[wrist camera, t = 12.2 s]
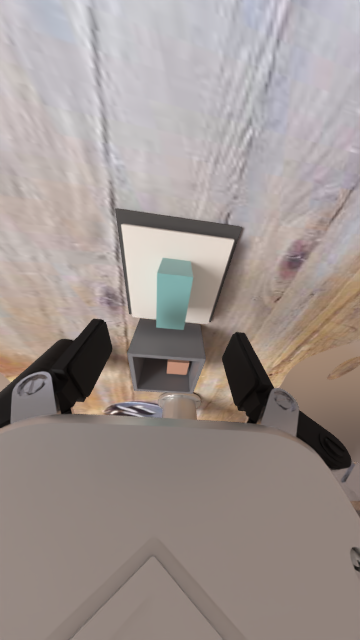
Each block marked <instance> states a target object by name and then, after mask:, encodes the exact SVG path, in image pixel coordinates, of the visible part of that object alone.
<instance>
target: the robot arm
mask: <svg viewBox="0 0 360 640" xmlns="http://www.w3.org/2000/svg"><path fill="white" fill-rule="evenodd" d="M111 352H112V344H111V340H110V336H109V332H108V328H107V324H106V322H104V320H102V319H93V320H92V321H91V322H90V323H89V324H88V325H87V327H86V328H85V329H84V330H83V331H82V333H81V334H80V335H79V336H78V337H77V338H76V339H75V340H74V341H73V342H72V344H71V345H70V346H69V347H68V348H67V350H66V351H65V352H64V353H63V354H62V355H61V357H60V358H59V359H58V360H57V361H56V363H55V364H54V365H53V366H52V367H51V369H50V370H49V371H48V372H37V373H33V374H31V375H29V376H27V377H25V378H24V379H22V380H21V381H20V382H19V383H18V384H16V386H15V387H14V389H13V392H12V393H10V394H8V395H6V396H4V397H2V398H0V640H360V465H359V464H358V463H357V462H355V463H353V462H352V461H351V457H350V455H349V453H348V451H347V449H346V448H345V446H344V445H343V444H342V443H341V442H340V441H339V440H338V439H337V438H336V437H335V436H334V435H332V434H331V433H330V432H328V431H327V430H326V429H324V428H323V427H321V426H320V425H319V424H317V423H316V422H315V421H313V420H312V419H310V418H309V417H308V416H306V415H305V414H304V413H302V412H301V411H299V406H298V404H297V402H296V400H295V399H294V398H293V397H292V396H291V395H290V394H289V393H288V392H286V391H285V390H283V389H280V388H274V387H273V385H272V383H271V381H270V379H269V377H268V375H267V374H266V372H265V370H264V368H263V366H262V364H261V362H260V360H259V359H258V357H257V355H256V353H255V351H254V350H253V348H252V346H251V344H250V342H249V340H248V338H247V336H246V335H245V333H239V332H236V333H235V334H233V335H232V337H231V339H230V342H229V344H228V346H227V348H226V350H225V352H224V354H223V357H222V361H223V365H224V368H225V372H226V376H227V379H228V383H229V386H230V390H231V393H232V397H233V401H234V404H235V405H236V406H237V407H238V411H245V412H246V415H247V418H246V420H245V423H239V422H226V421H208V420H197V413H196V409H197V408H198V407H200V405H201V399H200V397H199V396H198V395H196V394H194V393H193V394H183V393H165V394H163V395H161V396H160V397H159V399H158V404H159V406H160V407H161V408H163V413H162V418H153V417H133V416H112V415H87V414H74V409H73V406H74V404H75V403H76V401H77V402H84V401H85V399H86V397H88V396H89V395H90V394H91V392H92V390H93V388H94V386H95V384H96V382H97V380H98V378H99V376H100V374H101V372H102V370H103V368H104V366H105V364H106V362H107V360H108V358H109V356H110V354H111Z"/></svg>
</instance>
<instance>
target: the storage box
mask: <svg viewBox="0 0 360 640" xmlns="http://www.w3.org/2000/svg"><path fill="white" fill-rule="evenodd" d="M127 355H128V361H129V366H130V372H131V377H132V383H133V388H134V391H150V392H166V393H183V394H193V392H194V389H195V386H196V384H197V381H198V379H199V376H200V373H201V371H202V368H203V366H204V363H205V360H206V357H205V351H204V345H203V338H202V332H201V326H200V324H192V323H185V326H184V330H178V329H167V328H156V320H150V319H140V320H139V322H138V325H137V328H136V331H135V333H134V336H133V339H132V341H131V344H130V347H129V349H128V352H127Z"/></svg>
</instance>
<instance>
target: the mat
mask: <svg viewBox="0 0 360 640" xmlns="http://www.w3.org/2000/svg"><path fill="white" fill-rule="evenodd" d="M115 210H116V218H117V225H118V233H119V240H120V248H121V255H122V263H123V271H124V278H125V286H126V293H127V301H128V308H129V314H132V312H131V303H130V295H129V287H128V278H127V270H126V261H125V253H124V245H123V236H122V228H121V224H130V225H137V226H144V227H152V228H159V229H166V230H173V231H180V232H188V233H195V234H202V235H209V236H216V237H224V238H231V239H234V243H233V246H232V249H231V253H230V256H229V259H228V262H227V265H226V268H225V272H224V275H223V278H222V281H221V284H220V287H219V291H218V294H217V297H216V300H215V303H214V306H213V310H212V313H211V316H210V319H209V322H211V320H212V317H213V314H214V311H215V308H216V305H217V302H218V299H219V296H220V293H221V290H222V287H223V284H224V280H225V277H226V274H227V271H228V268H229V265H230V262H231V259H232V256H233V253H234V250H235V247H236V244H237V241H238V238H239V235H240V232H241V229H242V227H240V226H233V225H226V224H219V223H212V222H205V221H198V220H192V219H185V218H178V217H171V216H164V215H157V214H151V213H144V212H137V211H130V210H123V209H115Z"/></svg>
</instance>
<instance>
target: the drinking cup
mask: <svg viewBox="0 0 360 640" xmlns="http://www.w3.org/2000/svg"><path fill="white" fill-rule="evenodd" d="M72 342H73V341H71V340H67V339H62V340H59V341H57V342H56V343H55V344H54V345H53V346H52V347H51V348H49V349H48V350H47V351H46V352H45V353H44V354H43V355H42V356H40V357H39V358H38V359H37V360H36V361H35V362H34V363H33V364H31V365H30V366H29V367H28V368H27V369H26V370H25V371H24V372H22V373H21V374H20V375H19V376H18V377H17V378H16V379H15V380H13V381H12V382H11V383H10V384H9V385H8V386H7V387H6V388H5V389H3V390H2V391H1V392H0V398H2V397H4V396H6V395H8V394H10V393H12V392H13V389H14V387H15V386H16V384H18V383H19V382H20V381H21V380H22V379H24V378H25V377H27V376H29V375H31V374H33V373H37V372H48V371H49V370H50V369H51V367H52V366H53V365H54V364H55V363H56V361H57V360H58V359H59V358H60V357H61V355H62V354H63V353H64V352H65V351H66V350H67V348H68V347H69V346H70V345H71V344H72Z"/></svg>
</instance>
